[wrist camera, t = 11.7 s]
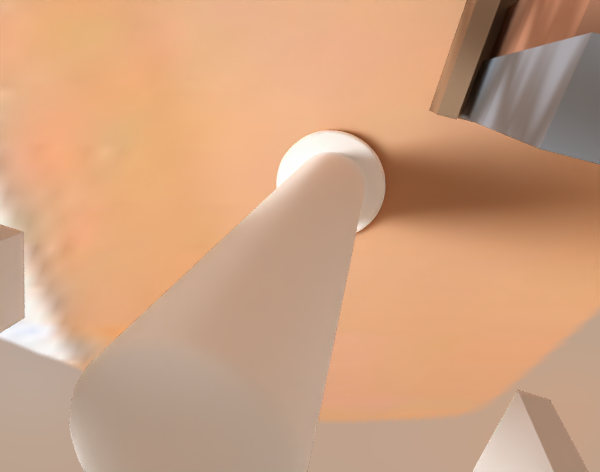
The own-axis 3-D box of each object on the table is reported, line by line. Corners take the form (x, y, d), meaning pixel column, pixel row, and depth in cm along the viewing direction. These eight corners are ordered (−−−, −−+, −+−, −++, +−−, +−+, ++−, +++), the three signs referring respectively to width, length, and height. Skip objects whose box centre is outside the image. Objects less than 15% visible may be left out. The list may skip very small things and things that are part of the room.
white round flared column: (371, 245, 28) (305, 959, 5) (271, 222, 29) (-170, 747, 6) (397, 142, 26) (505, 642, 3) (287, 119, 26) (-378, 346, 3)
